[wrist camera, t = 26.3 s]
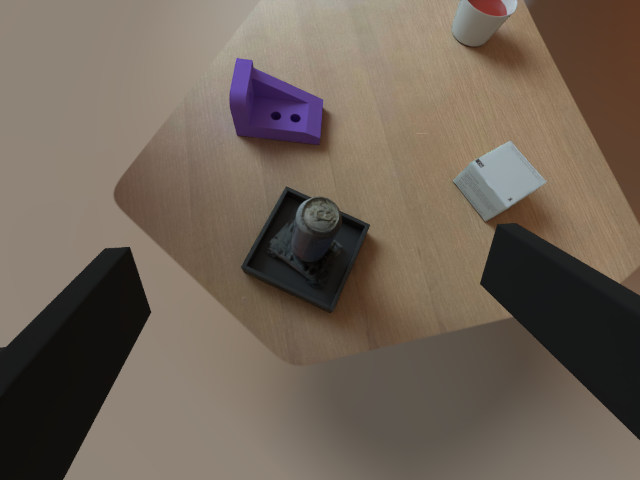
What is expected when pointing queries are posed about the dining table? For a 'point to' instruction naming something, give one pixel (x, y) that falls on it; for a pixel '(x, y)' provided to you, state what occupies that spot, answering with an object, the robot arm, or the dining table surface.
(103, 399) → the robot arm
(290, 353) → the dining table surface
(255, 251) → the black tray
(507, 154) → the small box
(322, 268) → the beverage can
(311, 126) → the bracket
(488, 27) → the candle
